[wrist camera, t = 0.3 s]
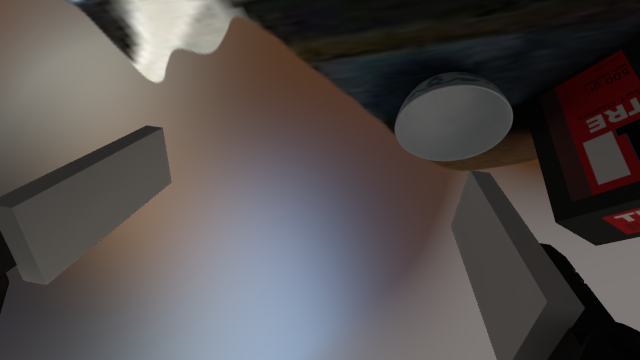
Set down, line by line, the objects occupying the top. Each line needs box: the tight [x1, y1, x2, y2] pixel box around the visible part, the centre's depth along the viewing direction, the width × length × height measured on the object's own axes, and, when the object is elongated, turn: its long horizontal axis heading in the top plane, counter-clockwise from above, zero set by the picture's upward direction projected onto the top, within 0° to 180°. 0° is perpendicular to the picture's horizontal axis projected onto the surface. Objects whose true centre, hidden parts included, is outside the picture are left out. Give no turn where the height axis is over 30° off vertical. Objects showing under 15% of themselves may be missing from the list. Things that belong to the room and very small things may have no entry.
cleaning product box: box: [523, 34, 640, 246], centre depth 38 cm, size 16×9×20 cm, turn 149°
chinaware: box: [395, 72, 513, 161], centre depth 46 cm, size 15×15×8 cm
